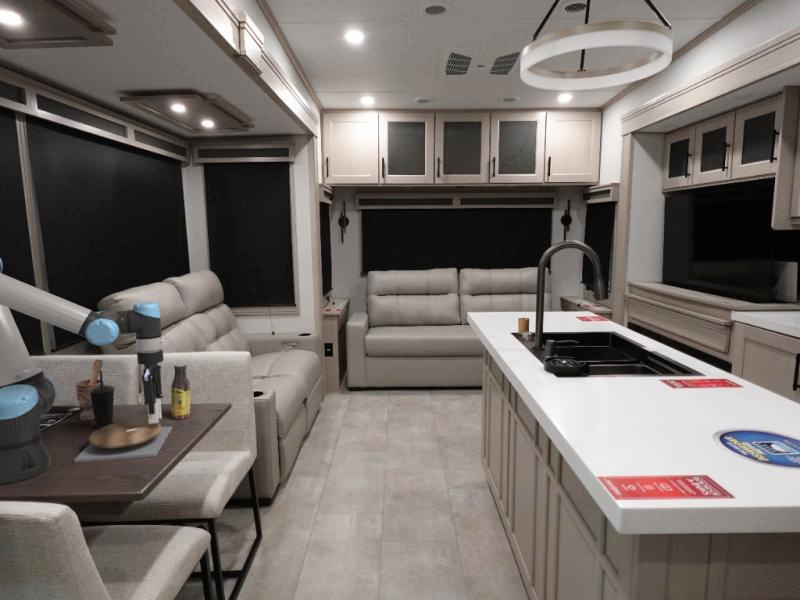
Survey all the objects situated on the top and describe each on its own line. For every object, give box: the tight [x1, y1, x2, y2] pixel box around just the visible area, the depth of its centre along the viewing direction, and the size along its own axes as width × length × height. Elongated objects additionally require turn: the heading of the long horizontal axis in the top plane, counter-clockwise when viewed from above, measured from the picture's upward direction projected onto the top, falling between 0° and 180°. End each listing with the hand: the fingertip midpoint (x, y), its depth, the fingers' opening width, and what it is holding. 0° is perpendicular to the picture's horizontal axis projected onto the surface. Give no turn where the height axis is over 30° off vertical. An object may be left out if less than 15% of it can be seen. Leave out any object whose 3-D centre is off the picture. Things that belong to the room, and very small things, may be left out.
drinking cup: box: [89, 370, 116, 430], centre depth 172 cm, size 8×8×20 cm
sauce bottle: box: [170, 362, 191, 420], centre depth 182 cm, size 6×6×20 cm
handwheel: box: [89, 398, 162, 448], centre depth 158 cm, size 20×20×12 cm
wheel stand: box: [73, 426, 173, 464], centre depth 159 cm, size 22×22×1 cm
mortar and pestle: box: [75, 359, 105, 422], centre depth 182 cm, size 12×9×20 cm
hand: (155, 420), depth 163 cm, fingers open, 3 cm apart
